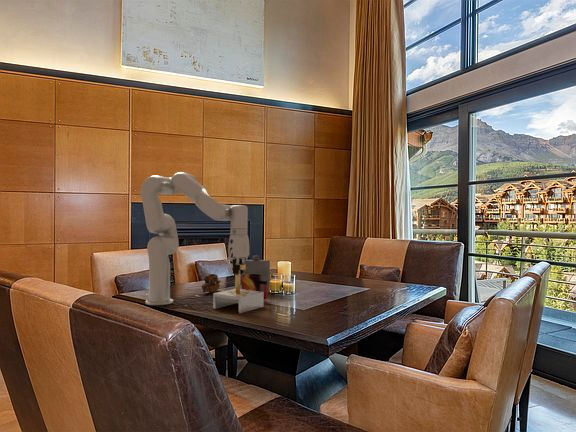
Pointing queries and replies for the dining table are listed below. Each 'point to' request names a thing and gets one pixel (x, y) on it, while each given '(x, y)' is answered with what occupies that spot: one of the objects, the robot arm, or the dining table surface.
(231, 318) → the dining table surface
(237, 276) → the tall wooden post
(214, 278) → the wooden carving
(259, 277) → the mug
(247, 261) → the flask
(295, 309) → the dining table surface
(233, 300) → the white slotted holder
